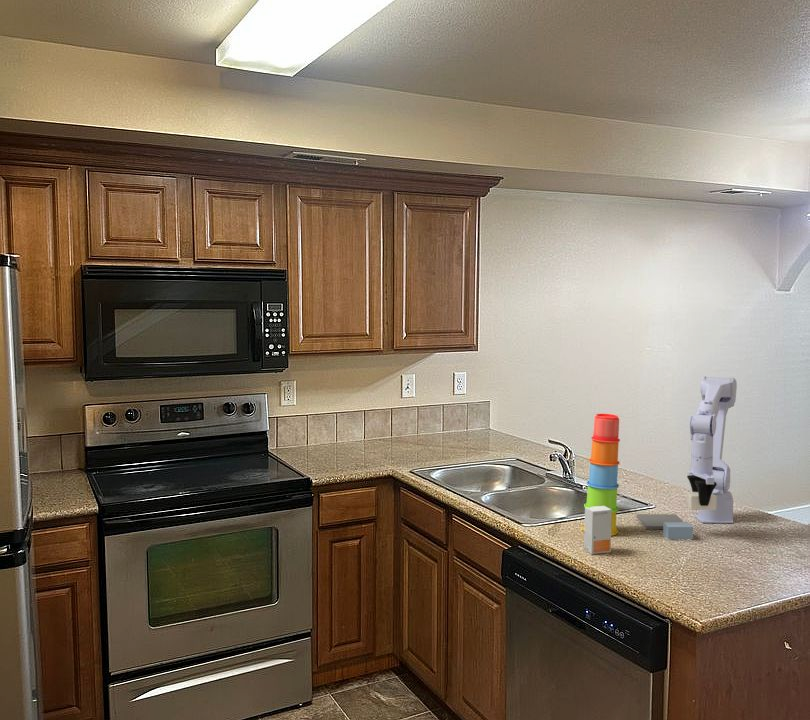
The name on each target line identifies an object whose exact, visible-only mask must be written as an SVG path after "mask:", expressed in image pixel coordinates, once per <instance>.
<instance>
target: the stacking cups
mask: <svg viewBox="0 0 810 720" xmlns="http://www.w3.org/2000/svg"><path fill="white" fill-rule="evenodd" d="M593 420H594V423H593V434H592V436H591V437H590V439H591V440H592V441H591V453H590V458H589V459H588V462H589V472H588V473H589V474H588V480H587V481H586V485H587V491H586V492H587V493H586V503H584V504H583V506H584V509H585V508H587V507H594V506H605V507H607V508H609V509H611V510H612V519H611V537H612V536H616V535H618V533H619V530H618V528H617V512H618V511H619V510H620V508H619V506H617V499H618V488H619V487H620V485H619V483H618V477H619V476H618V473H619V472H618V471H619V465H620V461H619V443H620V442H621V439H620V438H619V432H620V431H619V430H620V418H619V416H618V415H617V414H611V413H597V414H595V416H594V419H593ZM584 528H585V524H584V525H582V527H581V529H582V531H583V532H584Z"/></svg>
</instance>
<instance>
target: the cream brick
mask: <svg viewBox="0 0 810 720" xmlns="http://www.w3.org/2000/svg"><path fill="white" fill-rule="evenodd" d="M685 493H686V496H685V506H686V507H687V508H688V509H689V510H691V511H699V510H716V496H715V495H714V494H713V493H712V494H711V497H710V501H709V504H708V506H701V505H700V503H699V495H698V492H692V491H686V492H685Z"/></svg>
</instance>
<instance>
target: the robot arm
mask: <svg viewBox="0 0 810 720" xmlns="http://www.w3.org/2000/svg"><path fill="white" fill-rule="evenodd" d="M699 387H700V394H701V399H702V401H700V402H699V404H698V405H697V409H696V412H695V413H694V415H691V416H690V419H689V433H690V440H691V460H690V461H691V462H690V463H691V464H690V465H689V470H686V474H687V475H686V476H687V480H688V481H689V485H690V489H691V492H698V495H699V503H700V505H701V506H708V504H709V501H710V497H711V494H712V493H713V494H714V495H715V496H716V510H698V513H694V514H693V516H694V517H695V518H697V520H698V521H700V523H703V524H733V523H734V520H733V518H734V498H733V494H732V492H731V491H729V490H730V486H731V468H730V466H729V465H728V464H727V463H726V462H725V461H723V460H722V458H723V448H724V439H725V431H726V430H725V429H726V420H727V414H728V412H729V409H730V408H732V407H734V406H735V403H736V398H737V388H738V384H737V379H735V377H716V376H715V377H714V376H710V377H709V376H703V377H702V378H701V381H700V386H699Z"/></svg>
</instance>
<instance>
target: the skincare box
mask: <svg viewBox="0 0 810 720" xmlns="http://www.w3.org/2000/svg"><path fill="white" fill-rule="evenodd" d="M611 519H612V510H611V509H609V508H607V507H605V506H594V507H587V508H585V507H584V525H585V528H584V531H583V532H584V535H583V538H584V539H583V550H584V551H585V550H586V551H585V552H587V553H589V554H590V555H595V554H596V555H598V554H606V553H609V552H610V553H611V551H612V550H611V549H612V546H611V545H612V536H611ZM610 553H609V554H610Z"/></svg>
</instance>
